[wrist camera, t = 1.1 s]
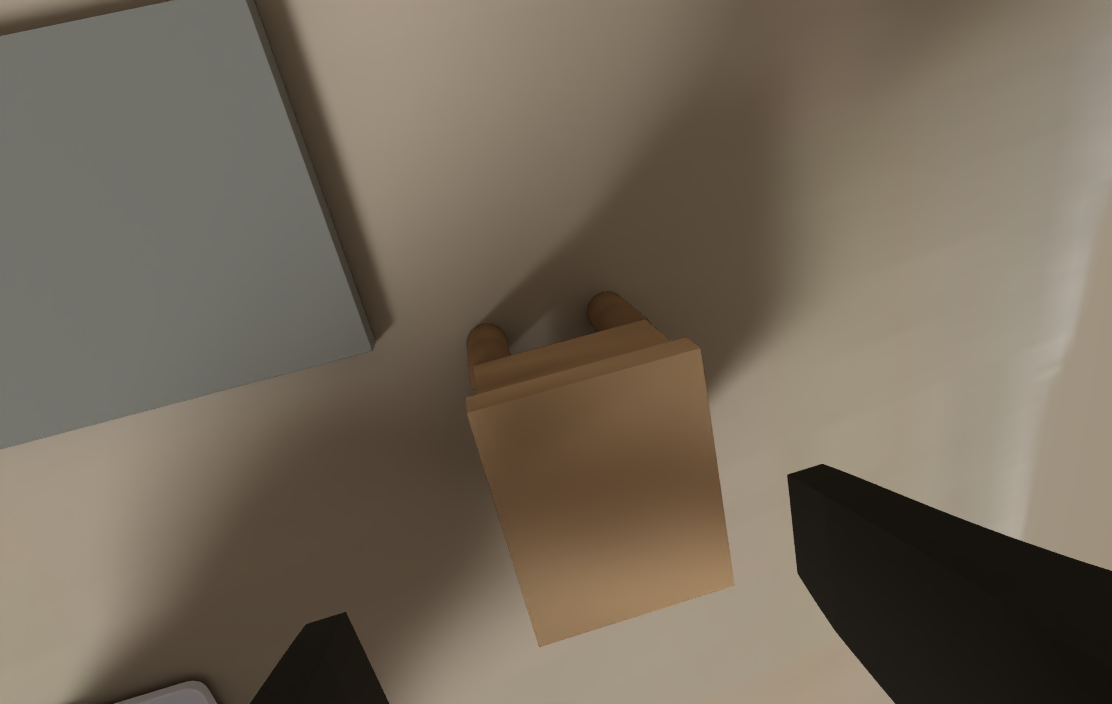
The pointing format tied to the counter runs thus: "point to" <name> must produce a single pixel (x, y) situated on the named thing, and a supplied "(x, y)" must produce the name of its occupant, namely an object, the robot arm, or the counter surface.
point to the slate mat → (157, 219)
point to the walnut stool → (601, 469)
